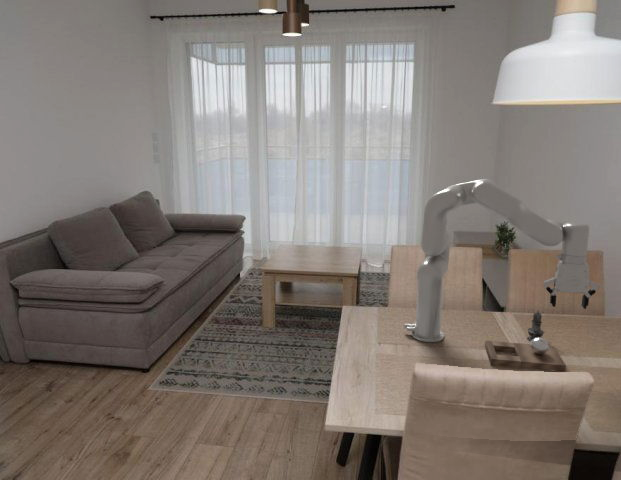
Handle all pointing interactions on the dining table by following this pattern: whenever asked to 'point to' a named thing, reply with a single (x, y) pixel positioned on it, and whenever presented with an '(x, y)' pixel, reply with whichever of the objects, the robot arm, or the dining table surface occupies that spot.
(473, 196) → the robot arm
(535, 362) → the board
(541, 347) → the ball
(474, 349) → the dining table surface
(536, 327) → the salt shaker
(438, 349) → the dining table surface
